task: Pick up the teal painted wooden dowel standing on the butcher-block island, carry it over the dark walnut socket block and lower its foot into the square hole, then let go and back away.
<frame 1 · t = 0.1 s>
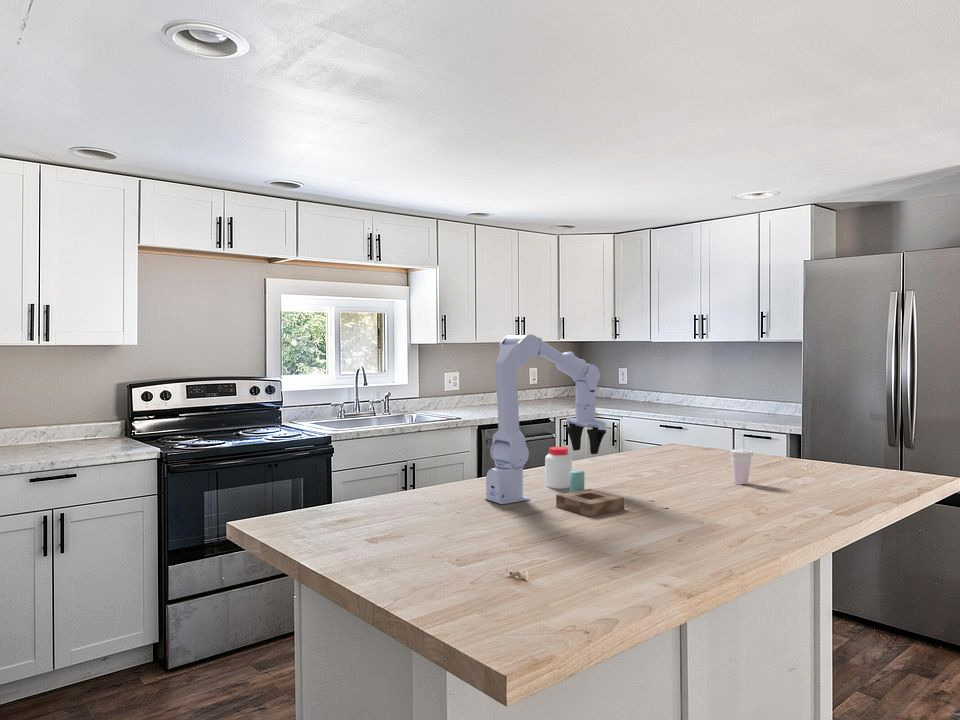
hand: (585, 452, 194), 10 cm above the table, tool pointing down, fingers open, 7 cm apart
dowel: (576, 497, 180), on the table
pill bottle: (558, 486, 195), on the table
smoothie: (740, 484, 198), on the table
socket block: (589, 507, 169), on the table
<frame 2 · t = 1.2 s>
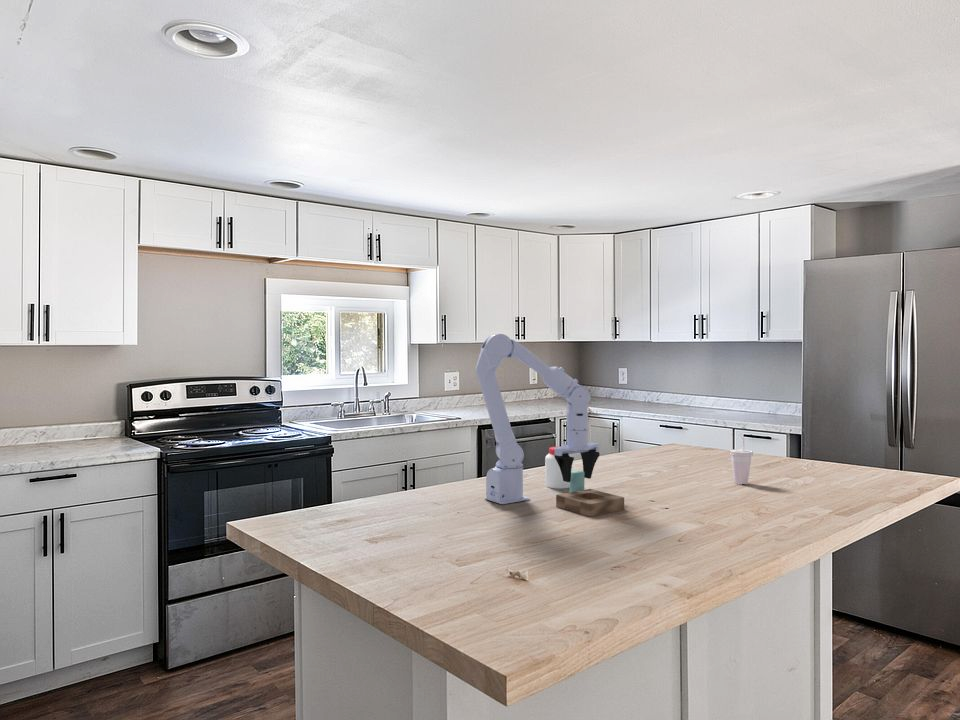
hand: (577, 479, 180), 5 cm above the table, tool pointing down, fingers open, 7 cm apart
nothing on the table moved.
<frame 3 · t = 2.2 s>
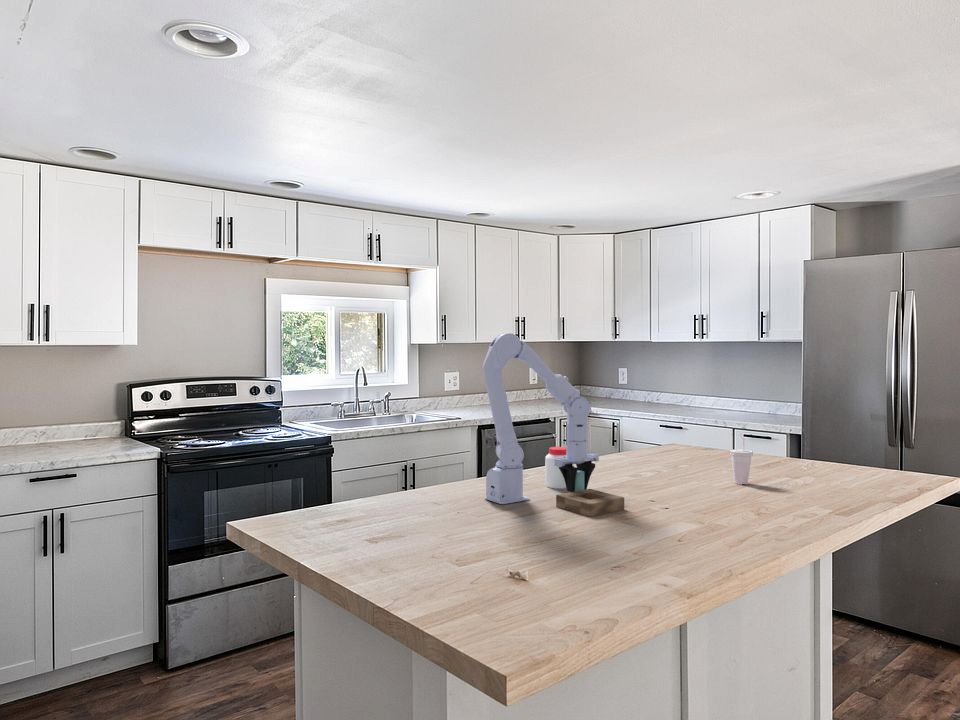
hand: (576, 490, 180), 2 cm above the table, tool pointing down, fingers closed on dowel, 4 cm apart
dowel: (576, 497, 180), on the table, touching gripper
everything else where it was.
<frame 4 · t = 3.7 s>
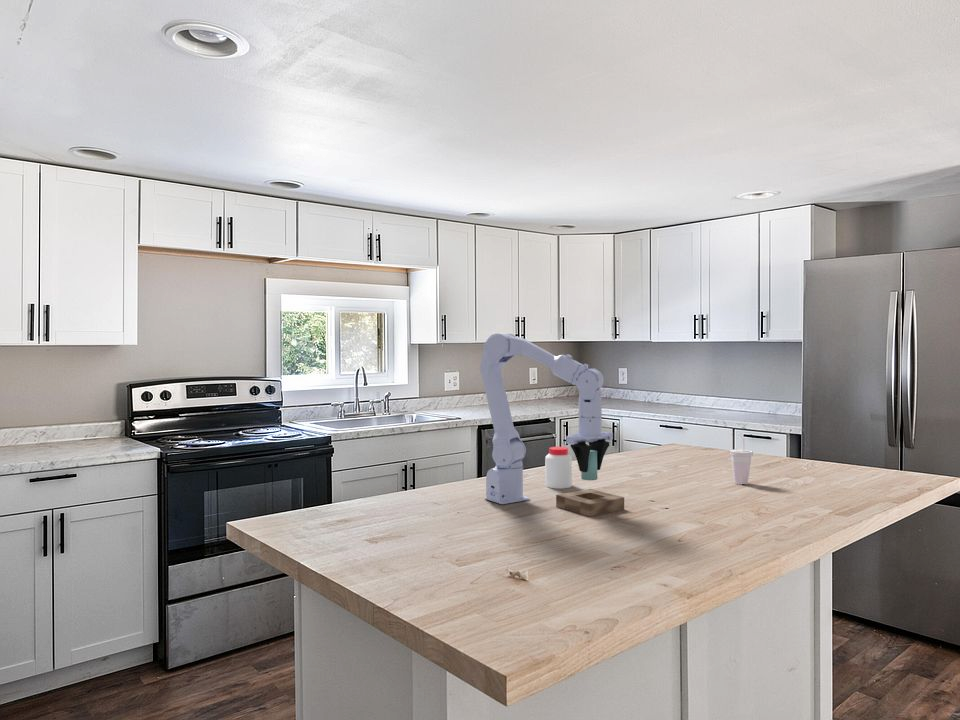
hand: (589, 470, 169), 9 cm above the table, tool pointing down, fingers closed on dowel, 4 cm apart
dowel: (589, 478, 170), point 7 cm above the table, touching gripper
everything else where it was.
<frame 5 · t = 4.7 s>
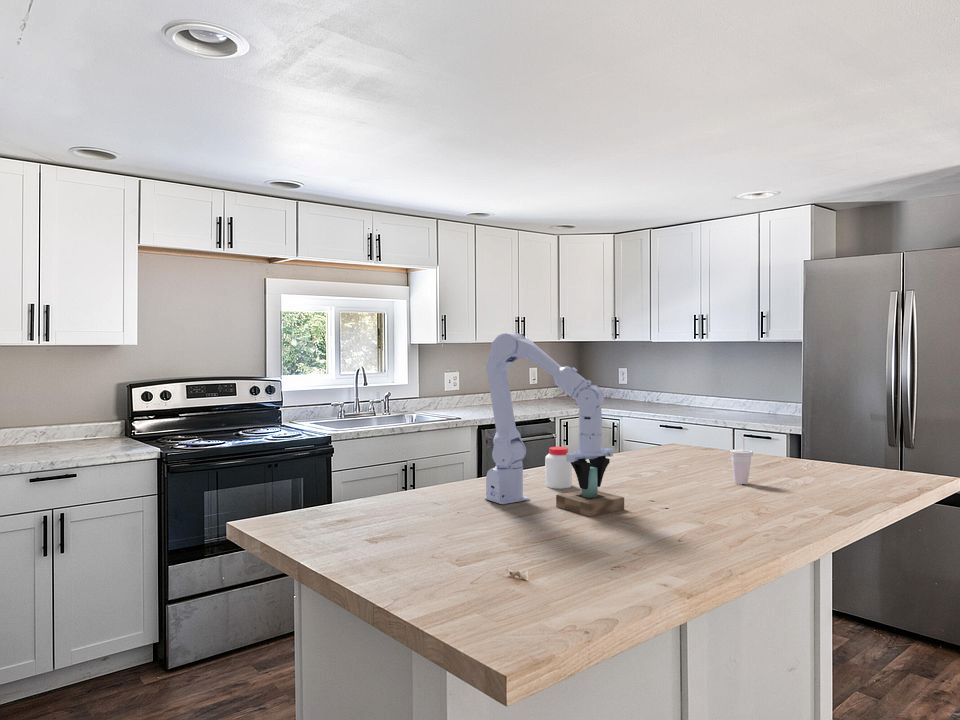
hand: (590, 487, 169), 5 cm above the table, tool pointing down, fingers closed on dowel, 4 cm apart
dowel: (589, 495, 169), point 3 cm above the table, touching gripper
everything else where it was.
when the fingers open (4 cm above the table, at t = 5.5 s): dowel drops 2 cm, resting in socket block.
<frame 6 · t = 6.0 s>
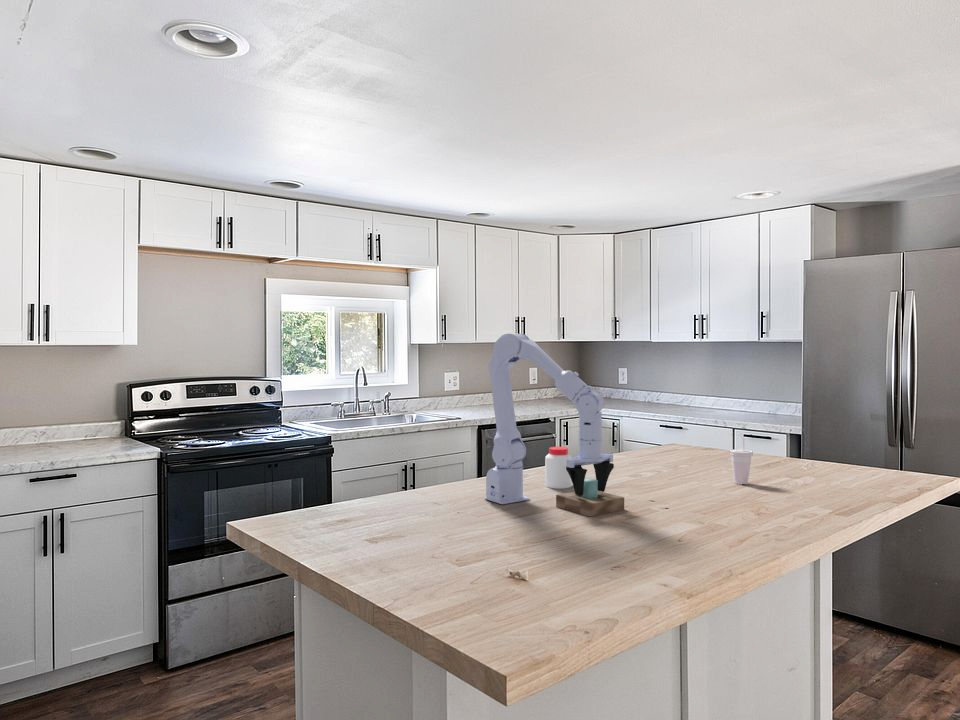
hand: (589, 492, 169), 4 cm above the table, tool pointing down, fingers open, 7 cm apart
dowel: (589, 507, 169), resting in socket block
everything else where it was.
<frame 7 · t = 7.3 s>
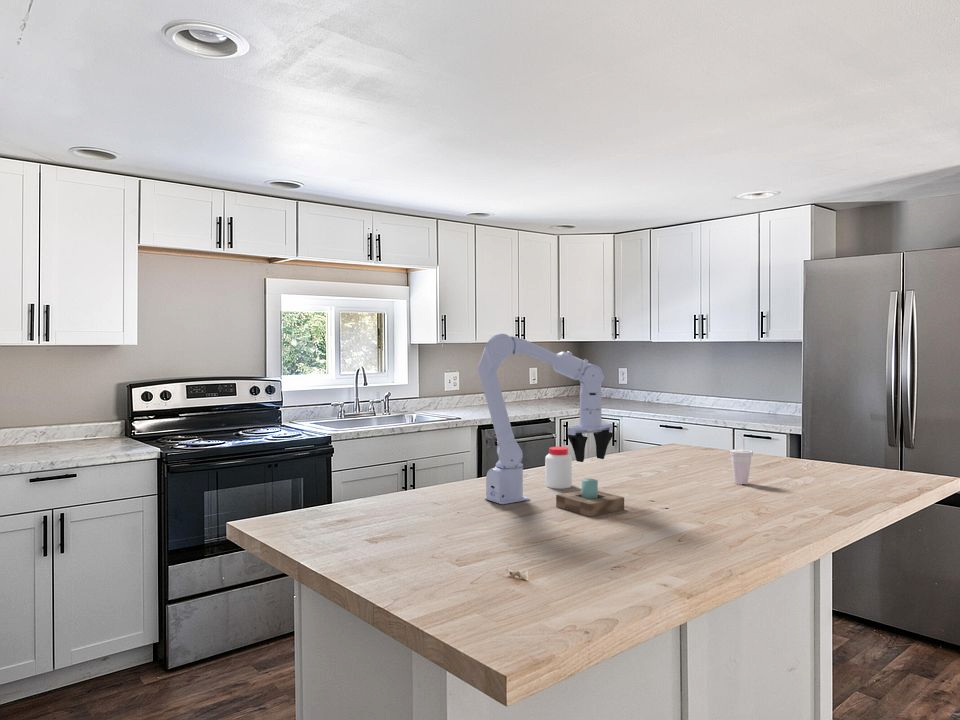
hand: (590, 460, 179), 10 cm above the table, tool pointing down, fingers open, 7 cm apart
nothing on the table moved.
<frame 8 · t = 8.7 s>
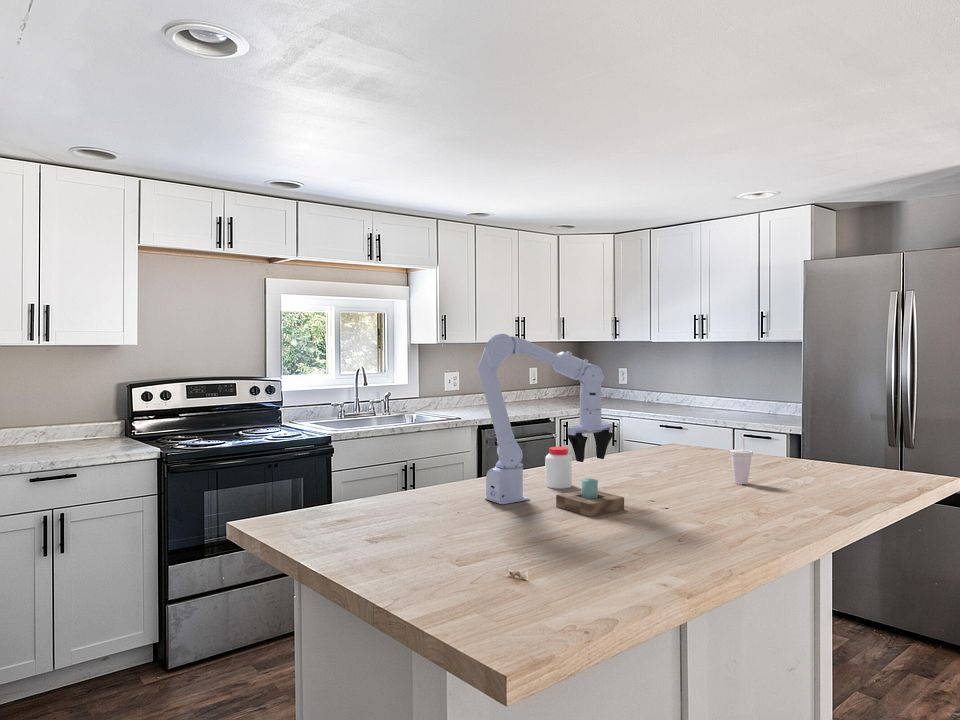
hand: (590, 460, 179), 10 cm above the table, tool pointing down, fingers open, 7 cm apart
nothing on the table moved.
at the end: dowel 0.2 cm off-centre on the socket block, point 0.0 cm above the socket block's base; dowel tilted 0°; the gripper is holding nothing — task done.
